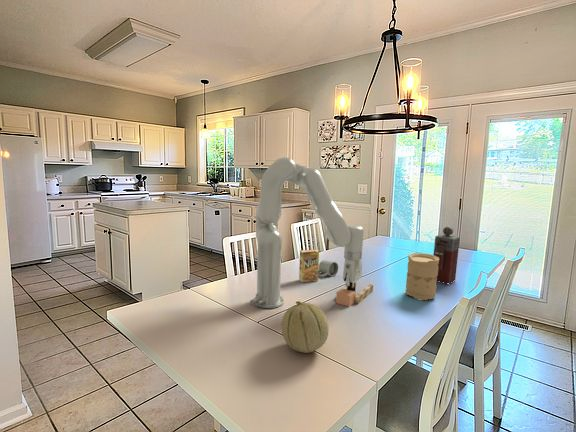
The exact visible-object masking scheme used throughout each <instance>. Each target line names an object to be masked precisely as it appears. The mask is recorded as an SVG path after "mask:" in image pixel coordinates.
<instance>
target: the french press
mask: <svg viewBox="0 0 576 432" xmlns="http://www.w3.org/2000/svg"><path fill="white" fill-rule="evenodd" d="M460 239H461V238H460V236H459V235H454V229H453V227H452V226H446V227H444V228H443V230H442V233H440V234H438V235H436V236H435V238H434V248H433V255H434V256H436V257H438V258H439V264H438V276H437V277H436V278H437V281H440V282H444V283H449V284H450V283H451V282H453V281H454V280H455V281H456V277H457V269H458V268H457V266H458V258H459V250H460V249H459V248H460ZM455 281H454V282H455ZM440 282H439V283H440ZM454 282H453V283H454ZM451 284H452V283H451ZM451 284H450V285H451Z"/></svg>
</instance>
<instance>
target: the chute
mask: <svg viewBox="0 0 576 432" xmlns="http://www.w3.org/2000/svg"><path fill="white" fill-rule="evenodd" d="M341 289H347V286H346V285H345V286H343V287H341V288H340V289H338V291H340V290H341ZM338 291H337V292H338ZM337 292H336V293H337ZM372 292H374V284H368V285H367V286H366V287H364V288H363V289H362V290H361V291H360V292H358V293H356V296H355V302H354V304H356V305H358V304H360V303H362V301H364V299H366V298H367V297H368V296H369V295H370V294H372Z"/></svg>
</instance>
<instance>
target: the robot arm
mask: <svg viewBox="0 0 576 432" xmlns="http://www.w3.org/2000/svg"><path fill="white" fill-rule="evenodd" d="M285 182H288V183H291V184H293V185H296V186H299V187H302V188H303V189H304V192H305V193H306V196H307V198H308V199H309V202H310V204H311V206H312V208H313V210H314V211H315V213H316V214H317V216H318V217H319V218H320V219H321V220H322V221H323V223H324V224H325V226H326V230H325V236H326V238H327V240H329V242H331V243H333V244H334V245H336V247H339V248H344V251H343V252H344V253H343V259H344V264H343V276H342V280H343V281H344V283H345V286H347V290H351V291H355V292H356V289H357V288H356V287H357V282H358V281H359V280H361V279H362V278H363V277H362V276H363V275H362V274H363V260H362V259H363V246H364V245H363V243H364V233H365V232H364V227H362V226H360V225H347V223H346V220H345V218H344V217H343V215H342V213H341V211H340V210H339V208H338V207H337V205H336V203H335V202H334V199H333V198H332V196H331V194H330V192H329V189H328V187H327V184H326V182H325V180H324V178H323V176H322V174H321V172H320V171H319V169H316V168H313V167H307V166H304V165H301V164H299V163H296V162H295V161H294V160H293V159H292V158H290V157H279V158H277V159H275V160H274V162H273V163H271V164H270V165H269V166H268V167H267V169H266V170H265V172H264V173H263V175H262V176H261V181H260V192H259V202H258V204H257V206H256V212H255V237H256V241H257V259H256V262H257V263H256V266H257V267H256V271H257V273H256V276H257V277H256V282H257V283H256V294H255V297H253V298H252V299H250V303H249V304H250V305H252V306H253V305H255V306H256V307H258V308H261V309H275V308H276V309H277V308H279V307H281V306H283V305H284V304H285V303H284V301H285V300H284V298H283V297H282V296H281V275H282V274H281V261H282V259H281V258H282V250H283V249H282V247H283V239H282V235H281V233H280V232H279V230H278V229H279V221H280V219H281V217H282V193H283V186H284V184H285Z"/></svg>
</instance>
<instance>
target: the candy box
mask: <svg viewBox="0 0 576 432" xmlns="http://www.w3.org/2000/svg"><path fill="white" fill-rule="evenodd" d="M319 264H320V251H319V250H317V249H304V250H303V249H300V250H299V267H298V268H299V272H298V275H299V276H298V279H299V282H301V283H307V282H319V276H318V270H319Z"/></svg>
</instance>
